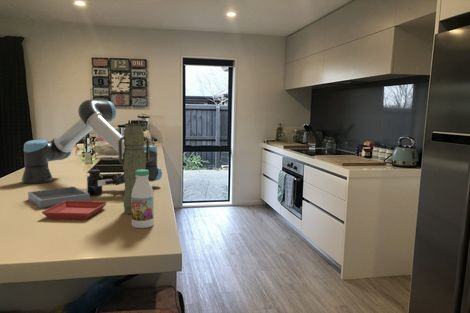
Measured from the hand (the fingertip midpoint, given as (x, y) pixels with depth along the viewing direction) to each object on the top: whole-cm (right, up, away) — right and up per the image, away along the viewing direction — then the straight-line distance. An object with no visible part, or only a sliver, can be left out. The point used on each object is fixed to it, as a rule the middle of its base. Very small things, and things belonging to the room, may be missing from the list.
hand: (92, 181), depth 171 cm
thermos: (+28, -11, -27) cm, 40 cm away
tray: (-11, -8, -11) cm, 17 cm away
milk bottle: (+36, -13, -44) cm, 58 cm away
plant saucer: (+6, -11, -31) cm, 33 cm away
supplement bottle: (+1, -7, +2) cm, 7 cm away
